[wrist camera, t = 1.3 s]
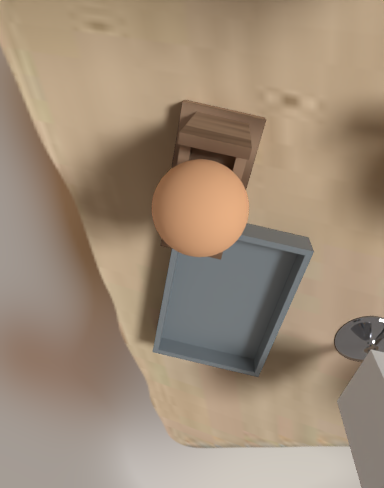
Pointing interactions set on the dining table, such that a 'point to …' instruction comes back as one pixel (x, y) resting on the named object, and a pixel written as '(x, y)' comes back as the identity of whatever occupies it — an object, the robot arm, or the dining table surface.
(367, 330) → the silver goblet
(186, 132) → the stand
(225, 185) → the ball
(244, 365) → the tray
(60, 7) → the dining table surface
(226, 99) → the dining table surface
